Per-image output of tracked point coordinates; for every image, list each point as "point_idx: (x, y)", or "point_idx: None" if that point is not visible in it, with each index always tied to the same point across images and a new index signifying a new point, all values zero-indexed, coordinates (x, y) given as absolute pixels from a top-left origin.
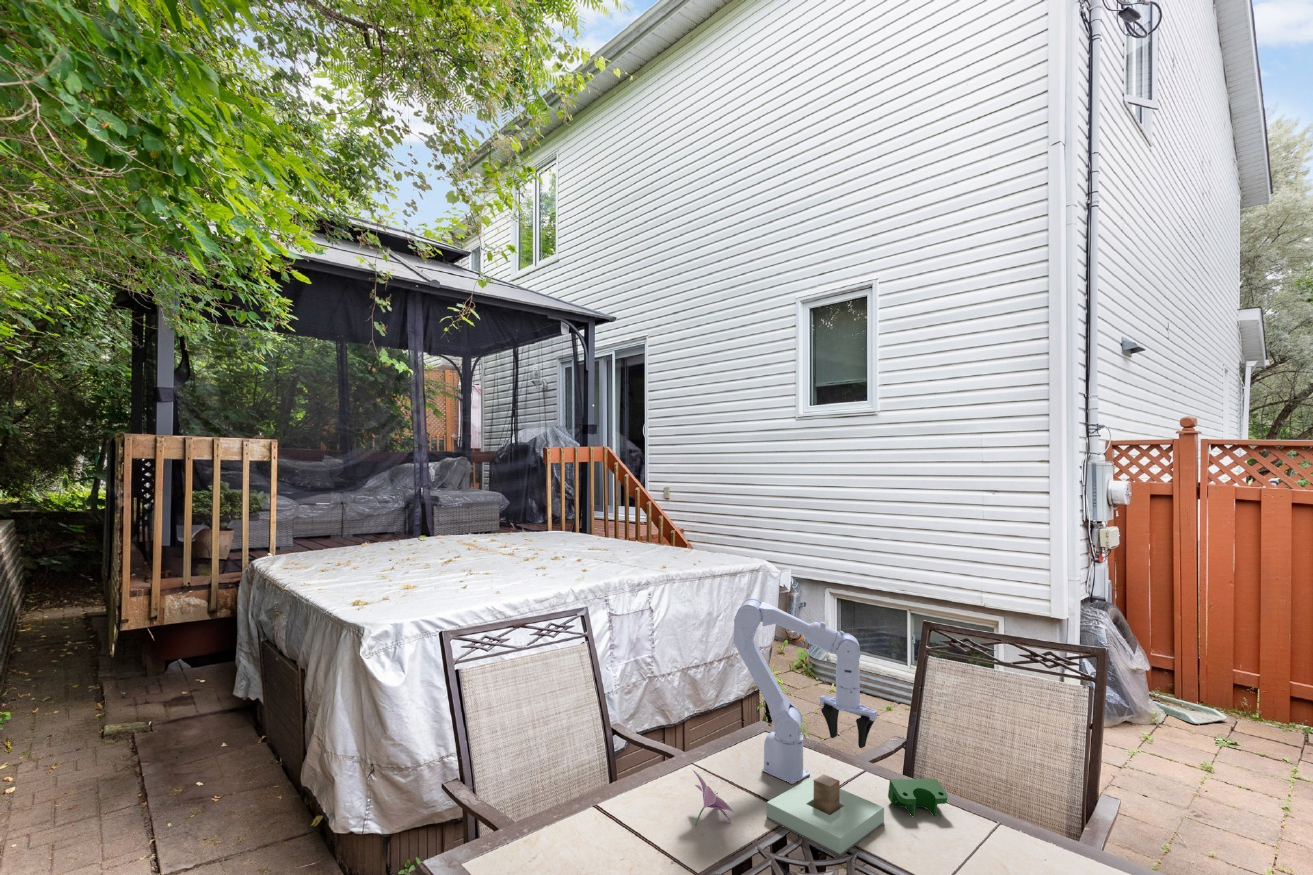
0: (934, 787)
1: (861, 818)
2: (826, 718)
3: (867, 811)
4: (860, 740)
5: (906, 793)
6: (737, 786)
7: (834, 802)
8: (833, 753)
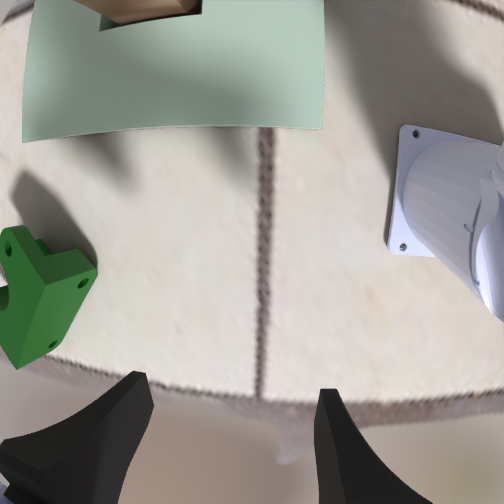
0: (2, 333)
1: (39, 25)
2: (377, 475)
3: (39, 72)
4: (108, 393)
5: (9, 256)
6: (497, 11)
7: None
8: (376, 419)
